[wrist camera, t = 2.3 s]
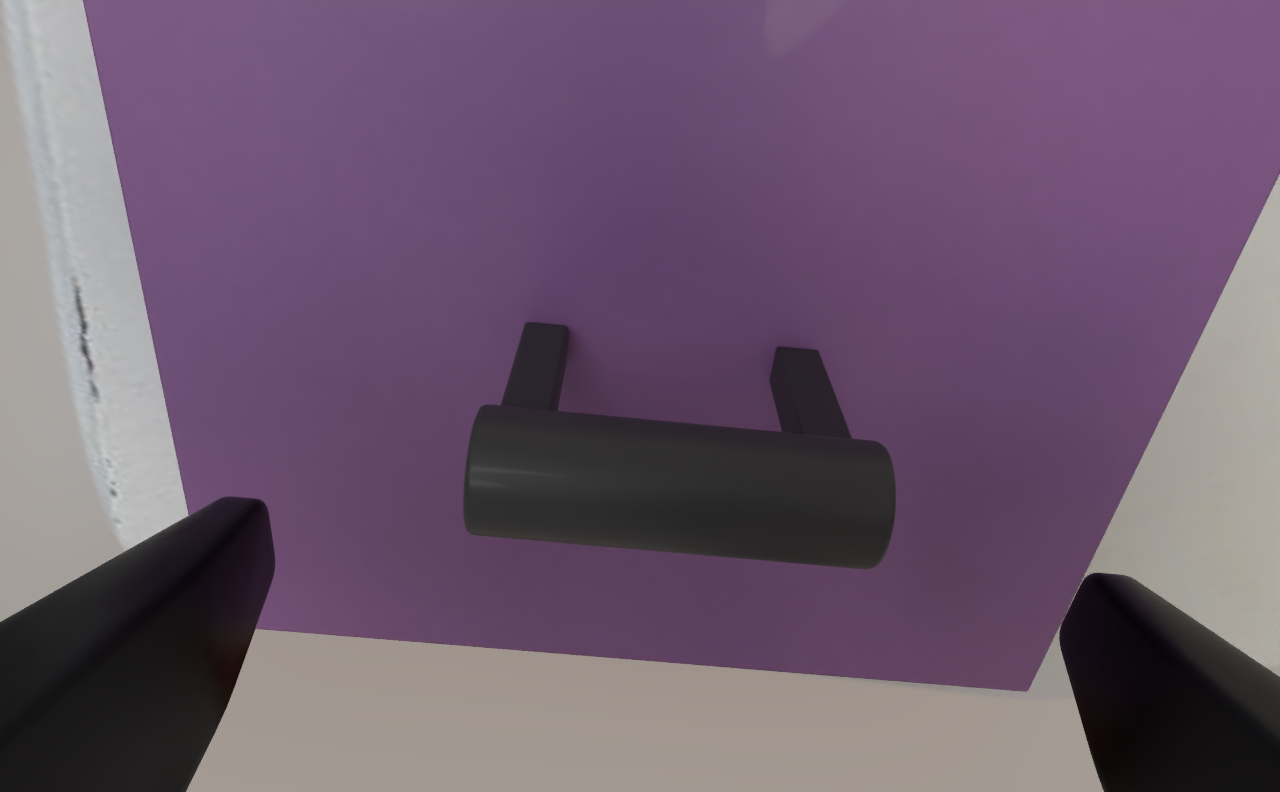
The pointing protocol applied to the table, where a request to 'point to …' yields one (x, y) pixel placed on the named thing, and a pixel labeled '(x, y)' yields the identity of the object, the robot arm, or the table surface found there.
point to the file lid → (685, 305)
